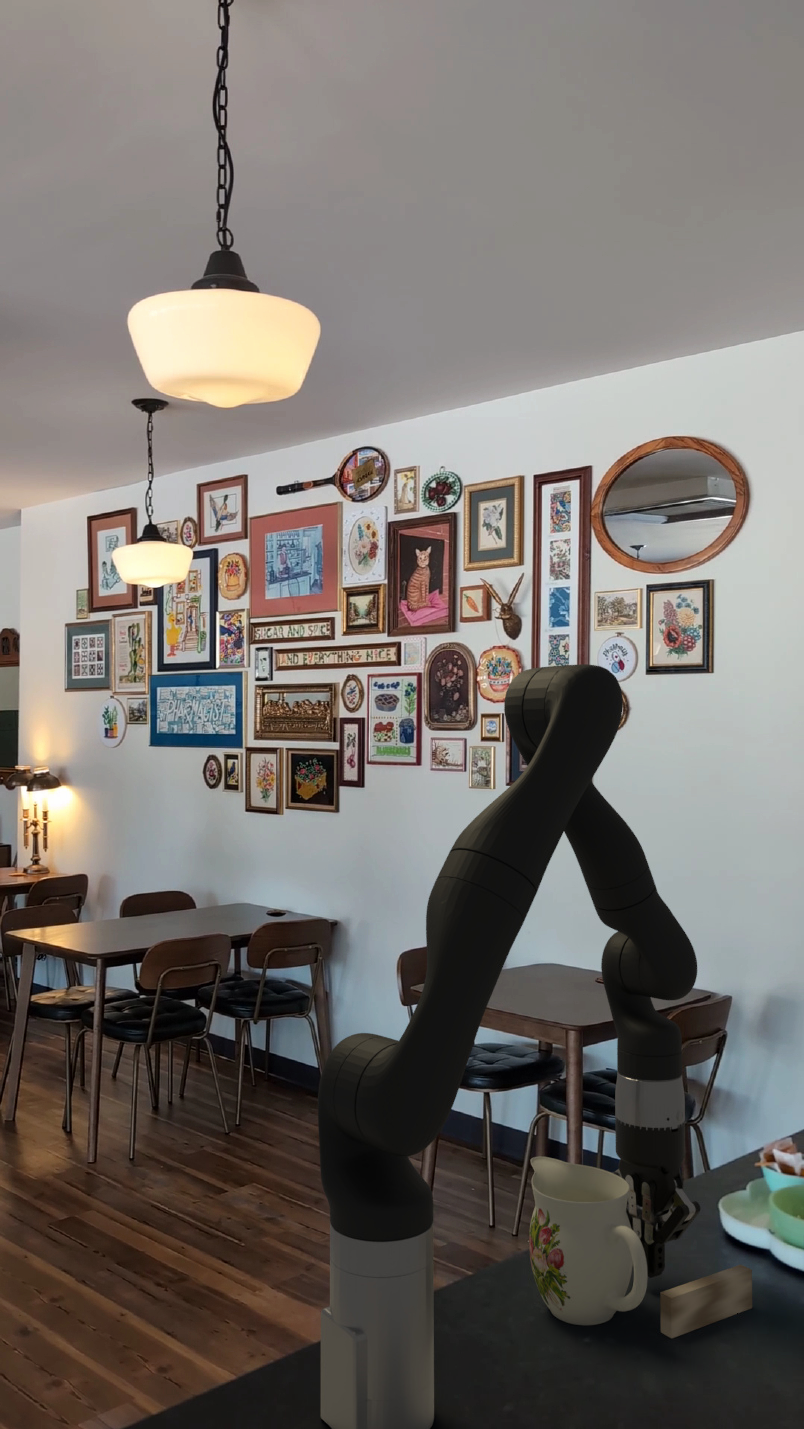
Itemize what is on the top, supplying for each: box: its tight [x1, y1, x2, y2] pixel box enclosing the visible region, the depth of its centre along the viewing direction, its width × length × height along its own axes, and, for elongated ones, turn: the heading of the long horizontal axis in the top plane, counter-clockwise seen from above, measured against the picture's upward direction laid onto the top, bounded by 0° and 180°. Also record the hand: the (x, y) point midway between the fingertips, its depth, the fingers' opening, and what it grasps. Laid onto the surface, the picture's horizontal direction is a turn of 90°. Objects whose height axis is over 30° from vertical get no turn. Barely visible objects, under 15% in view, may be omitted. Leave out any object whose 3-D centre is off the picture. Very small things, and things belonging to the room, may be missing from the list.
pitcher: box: [528, 1156, 649, 1326], centre depth 123 cm, size 11×18×14 cm, turn 30°
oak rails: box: [659, 1264, 753, 1339], centre depth 128 cm, size 12×18×4 cm
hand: (651, 1273), depth 128 cm, fingers closed
